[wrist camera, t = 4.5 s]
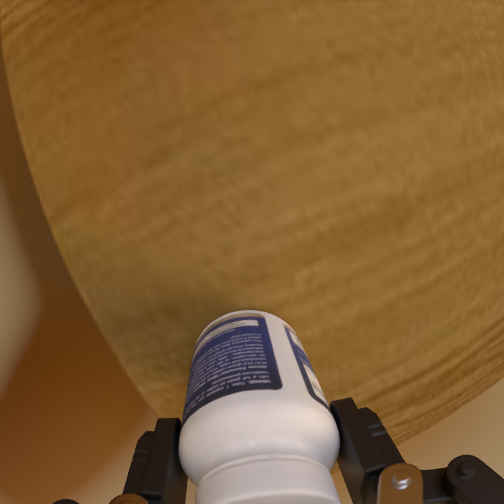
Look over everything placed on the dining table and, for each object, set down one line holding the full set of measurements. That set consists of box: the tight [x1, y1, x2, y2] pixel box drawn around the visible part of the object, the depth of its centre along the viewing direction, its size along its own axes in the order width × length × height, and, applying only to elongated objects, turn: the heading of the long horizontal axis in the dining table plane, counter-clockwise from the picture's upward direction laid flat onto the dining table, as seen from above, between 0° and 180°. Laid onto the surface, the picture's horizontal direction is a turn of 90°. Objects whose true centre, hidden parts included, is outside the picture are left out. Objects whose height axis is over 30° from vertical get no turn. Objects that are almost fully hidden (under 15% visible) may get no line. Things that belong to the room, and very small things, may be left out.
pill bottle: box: [178, 310, 340, 504], centre depth 11 cm, size 5×5×10 cm
